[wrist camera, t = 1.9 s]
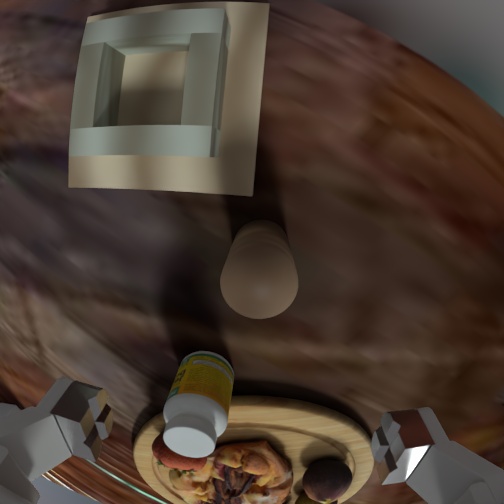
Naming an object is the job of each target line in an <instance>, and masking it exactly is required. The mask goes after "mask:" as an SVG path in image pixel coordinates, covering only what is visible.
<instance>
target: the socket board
mask: <svg viewBox="0 0 504 504" xmlns="http://www.w3.org/2000/svg"><path fill="white" fill-rule="evenodd" d="M269 5H270V3H255V2H193V3H177V4H165V5H156V6H147V7H140V8H133V9H127V10H121V11H115V12H110V13H105V14H100V15H95V16H91V17H88V19H87V23H86V26H85V31H84V35H83V40H82V45H81V50H80V56H79V62H78V68H77V74H76V81H75V88H74V96H73V105H72V115H71V127H70V141H69V187H79V188H121V189H147V190H167V191H185V192H200V193H215V194H228V195H240V196H253V187H254V176H255V164H256V153H257V141H258V130H259V118H260V107H261V96H262V84H263V73H264V62H265V51H266V40H267V29H268V18H269Z"/></svg>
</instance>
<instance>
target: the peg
mask: <svg viewBox="0 0 504 504" xmlns="http://www.w3.org/2000/svg"><path fill="white" fill-rule="evenodd" d="M220 286H221V291H222V294H223V297H224V299H225V300H226V302H227V303H228V305H229V306H230V307H231V308H232V309H233V310H235V311H236V312H238V313H239V314H241V315H243V316H246V317H249V318H255V319H264V318H270V317H273V316H276V315H278V314H280V313H281V312H283V311H284V310H285V309H287V308H288V307H289V306H290V304H291V303H292V302H293V300H294V298H295V296H296V293H297V290H298V276H297V272H296V268H295V264H294V261H293V257H292V253H291V249H290V246H289V242H288V238H287V235H286V233H285V232H284V230H283V229H282V228H281V227H280V226H279V225H278V224H276V223H275V222H272V221H270V220H266V219H256V220H252V221H249V222H248V223H246V224H244V225H243V226H242V227H241V228H240V229H239V230H238V232H237V234H236V236H235V238H234V241H233V244H232V246H231V249H230V252H229V254H228V257H227V260H226V263H225V265H224V268H223V271H222V274H221V280H220Z"/></svg>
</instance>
